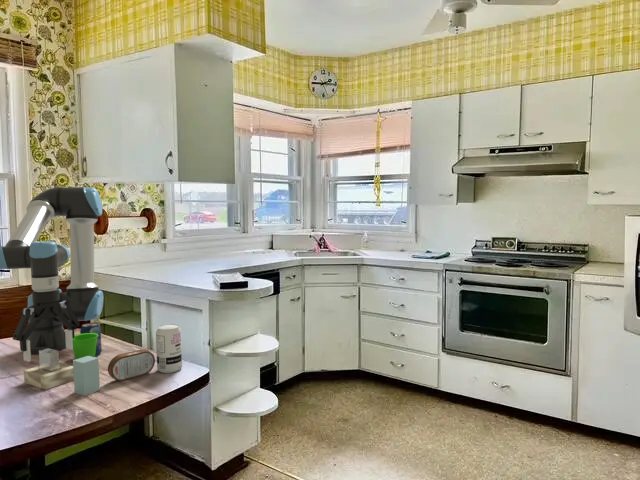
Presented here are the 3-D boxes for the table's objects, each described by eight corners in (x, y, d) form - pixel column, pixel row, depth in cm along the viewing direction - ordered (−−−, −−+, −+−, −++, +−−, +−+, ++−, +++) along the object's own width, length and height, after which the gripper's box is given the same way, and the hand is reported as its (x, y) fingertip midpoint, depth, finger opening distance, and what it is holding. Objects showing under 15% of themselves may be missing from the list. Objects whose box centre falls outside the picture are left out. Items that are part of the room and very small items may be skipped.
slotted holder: (55, 372, 158) (54, 361, 157) (76, 379, 152) (75, 367, 151) (24, 382, 149) (23, 370, 149) (45, 389, 143) (45, 377, 143)
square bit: (89, 386, 145) (88, 355, 144) (99, 389, 142) (98, 358, 142) (74, 392, 141) (72, 360, 140) (84, 395, 138) (83, 363, 137)
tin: (152, 370, 160) (151, 346, 159) (156, 372, 157) (155, 348, 157) (107, 382, 149) (106, 356, 148) (111, 384, 147) (110, 358, 146)
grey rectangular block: (49, 377, 153) (48, 348, 152) (60, 381, 150) (58, 350, 149) (40, 380, 151) (38, 350, 150) (51, 384, 148) (49, 353, 147)
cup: (88, 372, 158) (86, 340, 157) (65, 370, 160) (63, 339, 159) (105, 363, 166) (104, 333, 166) (83, 362, 168) (82, 332, 167)
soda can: (103, 356, 175) (101, 324, 174) (82, 359, 171) (81, 327, 170) (100, 351, 181) (98, 321, 180) (80, 354, 177) (78, 323, 176)
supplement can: (160, 365, 163) (159, 324, 162) (184, 365, 164) (183, 323, 163) (154, 374, 155) (152, 330, 154) (179, 373, 156) (177, 329, 155)
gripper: (10, 297, 135) (14, 368, 137) (89, 284, 157) (92, 345, 159) (-4, 295, 139) (1, 364, 141) (75, 282, 161) (78, 342, 162)
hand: (49, 354), depth 150 cm, fingers open, 13 cm apart
